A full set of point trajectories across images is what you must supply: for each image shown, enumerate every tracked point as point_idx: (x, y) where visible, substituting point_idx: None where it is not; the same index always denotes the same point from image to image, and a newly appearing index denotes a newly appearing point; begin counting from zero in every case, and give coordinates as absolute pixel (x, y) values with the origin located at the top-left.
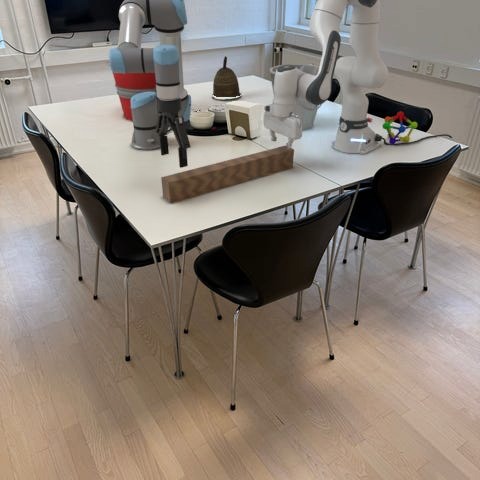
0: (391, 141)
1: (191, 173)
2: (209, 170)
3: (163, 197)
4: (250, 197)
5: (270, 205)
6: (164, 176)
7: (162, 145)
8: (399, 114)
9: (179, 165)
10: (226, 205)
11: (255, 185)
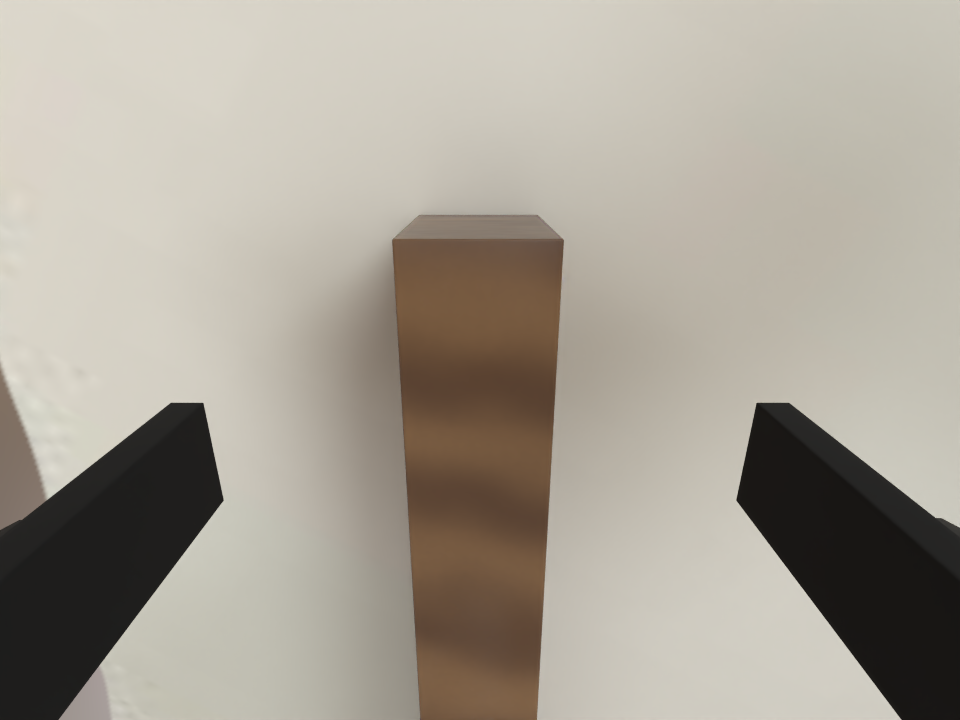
0: None
1: (467, 507)
2: (438, 635)
3: (531, 215)
4: (244, 633)
5: (112, 657)
6: (560, 278)
7: (853, 519)
8: None
9: (189, 414)
10: None
11: (365, 715)
